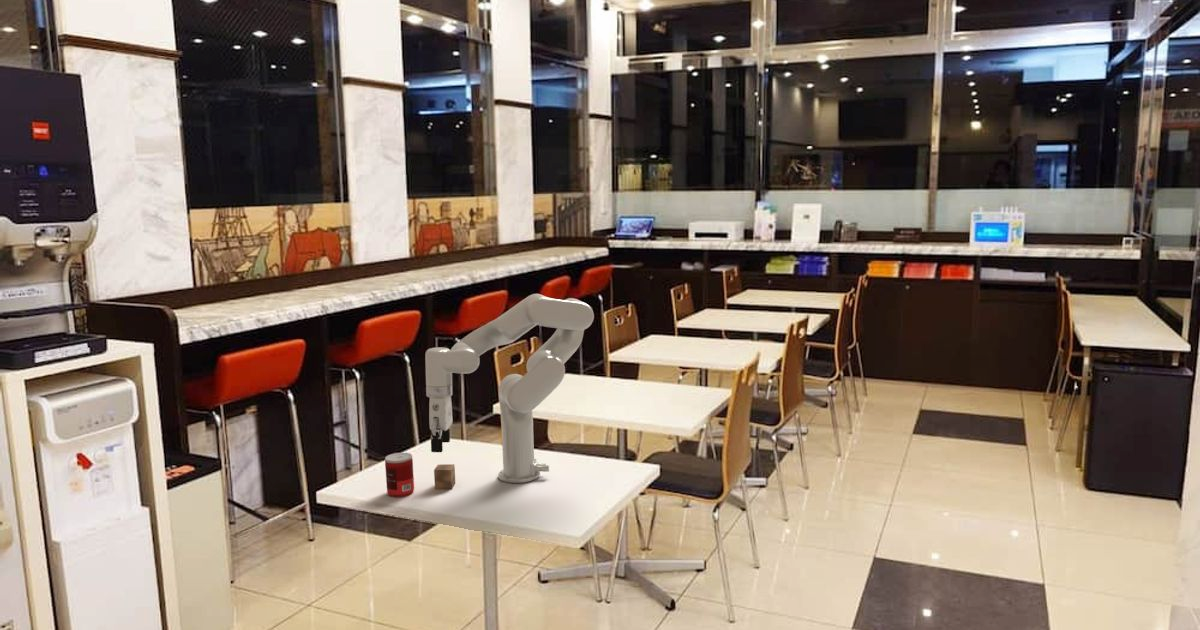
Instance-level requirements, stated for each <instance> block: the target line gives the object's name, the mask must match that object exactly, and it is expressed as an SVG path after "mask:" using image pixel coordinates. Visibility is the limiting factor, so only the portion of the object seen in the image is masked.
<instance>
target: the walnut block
mask: <svg viewBox="0 0 1200 630" xmlns="http://www.w3.org/2000/svg"><path fill="white" fill-rule="evenodd" d="M455 465H456V464H445V463H444V464H443V463H442V464H437V465H436V467H435V468H434V469H433V477H434V478H433V479H434V490H453V489H454V487H455V485H456V470H455V469H456V467H455Z"/></svg>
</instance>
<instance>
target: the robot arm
mask: <svg viewBox="0 0 1200 630" xmlns="http://www.w3.org/2000/svg"><path fill="white" fill-rule="evenodd" d="M594 319H595V314H594V311H593V307H592V306H590V305H589V304H587V303H586V302H584V301H582V300H579V299H577V298H573V297H568V298H565V299H557V298H551V297H548V296H546V295H543V294H540V293H532V294H530V295H528V296H526V298H524V299H522V300H521V301H519V302H518V303H517V304H515V305H514V306H512V307H511V308H509V309H508V310H507V311H505V312H504V313H503V314H501V315H500V316H497V318H495V319H493V320H491V321H489V322H488V323H486V324H484V325H482V326H480V327H479V328H477V329H475V330H472V332H470V333H468V334H467V335H466V336H464V337H463V338H461V339H460V340H458V341H457V342H455V344H454V345H453V346H452V347H451V349H450V348H448V347H442V346H441V347H439V346H438V347H432V348H431V347H430V348H428V349H427V350H426V351H425V354H424V355H425V359H424V360H425V362H424V363H425V386H426V387H425V392H426V394H425V396H426V397H427V398H429V403H428V405H429V406H428V407H429V409H428V410H429V411H428V412H429V413H428V416H429V417H428V418H429V419H428V420H429V422H428V423H429V430H430V431H431V432H430V450H431V451H430V452H431V453H443V451H444V450H443V443H450V442H451V439H450V438H451V436H450V435H451V433H450V430H451V429H450V427H451V426H452V424H453V407H452V406H453V404H452V396H453V373H454V374H462V375H463V374H467V375H468V374H471V373H473V372H475V371H476V370H477V369H478V368H479V366H480V361H481V360H480V356H481V355H483V354H485V353H486V352H487V351H490V350H491V349H493V348H496V347H498V346H504V345H509V344H512V343H514V342H515V341H517V340H518V339H520V338H521V337H522V336H523V335H525V334H526V333H528V332H529V331H530V330H531V329H533V328H534V327H536V326H541V327H545V328H550V329H551V328H552V329H553V328H554V329H556V330H555V331H554V333H553V334H552V335H551V337H549V338H548V339H547V341H546V342H544V343H543V344H542V345H541V346H540V347H539V348H538V349H537V350H536V351H535V352H534V353H532V354H531V355H530V356H529V358H528V360H527V362H526V371H527V372H525V374H524V375H521V374H519V373H512V374H508V375H506V376H505V377H504V378H503V379H502V380H501V381H500V383H499V387H498V401H499V408H500V421H501V422H500V423H501V440H502V441H501V444H502V445H501V446H502V467H503V469H502V470H499V472H498V479H499V480H500V481H502V482H504V483H511V484H522V483H529V482H532V481H535V480H537V479H538V478H539V477H540V475H541V472H545V473H546V472H547V473H548V472H550V465H548V464H547V463H539V462H537V458H535V448H534V446H535V445H534V444H535V443H534V417H533V416H534V415H533V410H534V409H536V408H537V407H538V406H539V405H541V403H542V402H543V401H544V400H545V399H546V398H548V397H549V396H550V395H551V393H553V392H554V390H555V389H557V387H559V386H560V384H561V382H562V381H563V380H564V377H565V373H566V367H565V363H566V362H567V361H569V359H570V358H571V357H572V356H573V354H575V352H577V350H578V349H579V348H580V345H581V344H582V342H583V338H584V333H585V330H586V329H588V328H589V327H590V326H592V323H593V322H594Z"/></svg>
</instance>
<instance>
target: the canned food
mask: <svg viewBox="0 0 1200 630" xmlns="http://www.w3.org/2000/svg"><path fill="white" fill-rule="evenodd" d="M413 460H414V459H413V455H412V454H411V453H409V452H394V453H391V454H388V455H386V456H385V457H384V464H385V466H384V467H385V483H386V493H387V495H388V496H389V497H391V498H404V497H407V496H410V495H412V494H413V493H414V491H415V478H414V464H413V462H414V461H413Z"/></svg>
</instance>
